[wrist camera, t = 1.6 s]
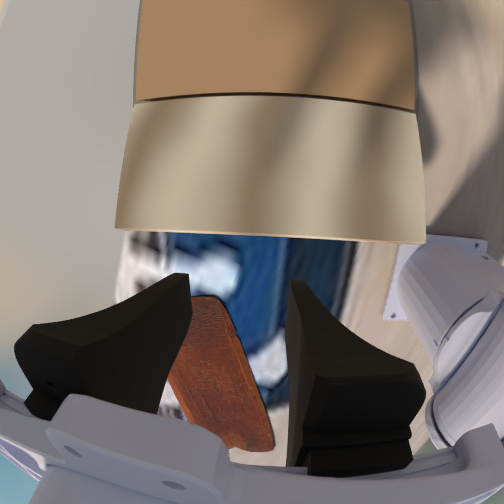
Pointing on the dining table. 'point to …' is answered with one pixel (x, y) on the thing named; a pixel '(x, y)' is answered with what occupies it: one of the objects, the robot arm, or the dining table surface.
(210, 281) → the dining table surface
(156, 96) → the floor base
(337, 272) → the dining table surface
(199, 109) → the ash plank
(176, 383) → the wooden tablet
